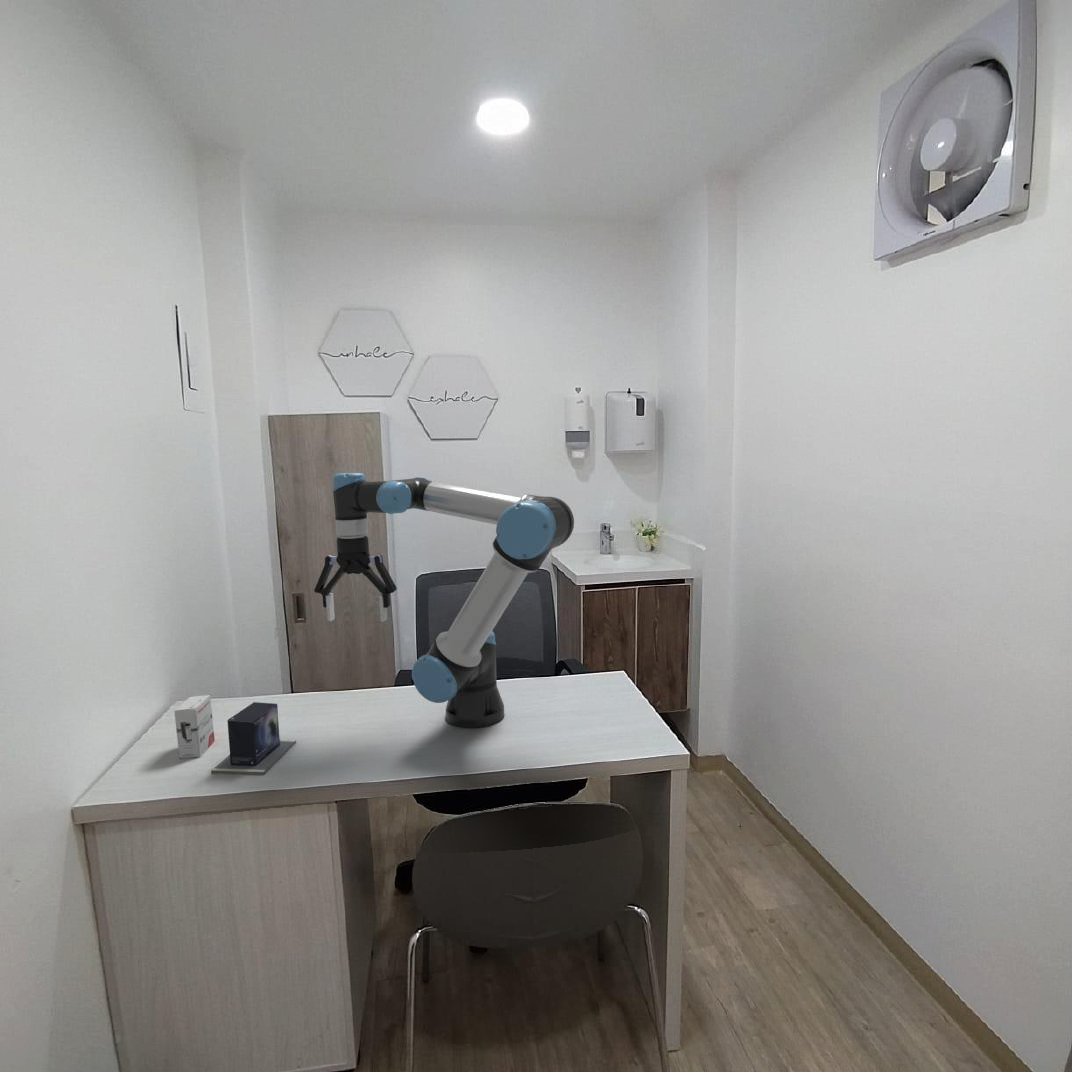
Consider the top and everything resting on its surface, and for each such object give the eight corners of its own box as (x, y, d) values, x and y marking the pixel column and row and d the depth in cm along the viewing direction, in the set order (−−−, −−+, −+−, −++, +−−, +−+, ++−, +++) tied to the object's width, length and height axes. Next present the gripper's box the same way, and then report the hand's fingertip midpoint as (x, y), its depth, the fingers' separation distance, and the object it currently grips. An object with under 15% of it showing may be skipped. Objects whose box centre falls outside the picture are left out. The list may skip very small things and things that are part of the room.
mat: (296, 742, 153) (295, 740, 153) (263, 774, 138) (263, 771, 138) (248, 741, 154) (248, 738, 154) (211, 773, 139) (210, 770, 139)
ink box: (194, 741, 155) (190, 695, 153) (215, 740, 155) (211, 694, 154) (178, 759, 146) (172, 709, 145) (200, 757, 147) (195, 708, 145)
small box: (256, 767, 140) (252, 721, 139) (229, 765, 141) (224, 720, 140) (282, 744, 151) (278, 702, 149) (256, 743, 152) (252, 701, 150)
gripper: (406, 533, 160) (410, 616, 163) (310, 534, 162) (316, 615, 165) (397, 537, 153) (401, 624, 156) (296, 538, 155) (302, 623, 158)
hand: (357, 620), depth 160 cm, fingers open, 13 cm apart
